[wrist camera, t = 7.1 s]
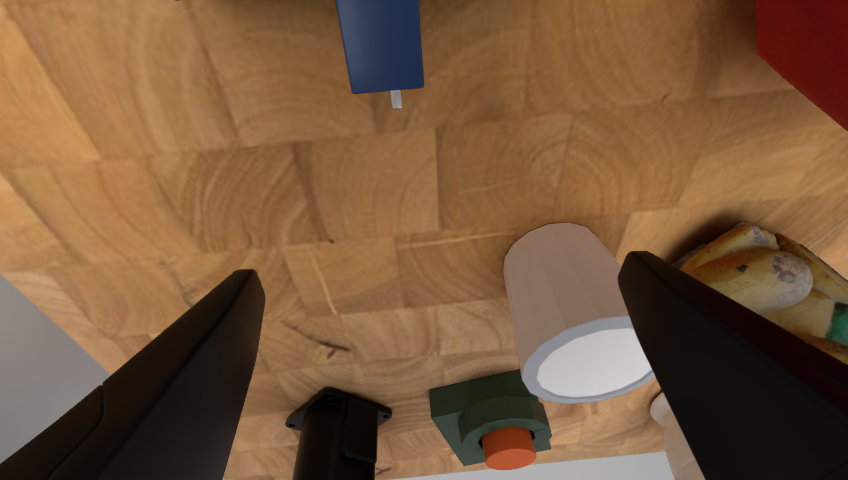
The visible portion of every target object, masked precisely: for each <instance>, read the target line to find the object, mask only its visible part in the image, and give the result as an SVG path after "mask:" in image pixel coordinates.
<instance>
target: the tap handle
mask: <svg viewBox="0 0 848 480" xmlns="http://www.w3.org/2000/svg"><path fill="white" fill-rule="evenodd" d="M335 3H336V8H337V14H338V19H339V25H340V31H341V36H342V42H343V47H344V53H345V58H346V64H347V69H348V75H349V80H350V86H351V91H352V93H353V94H360V93H372V92H384V91H395V90H407V89H418V88H423V87H424V76H423V60H422V44H421V28H420V12H419V0H335Z"/></svg>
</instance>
